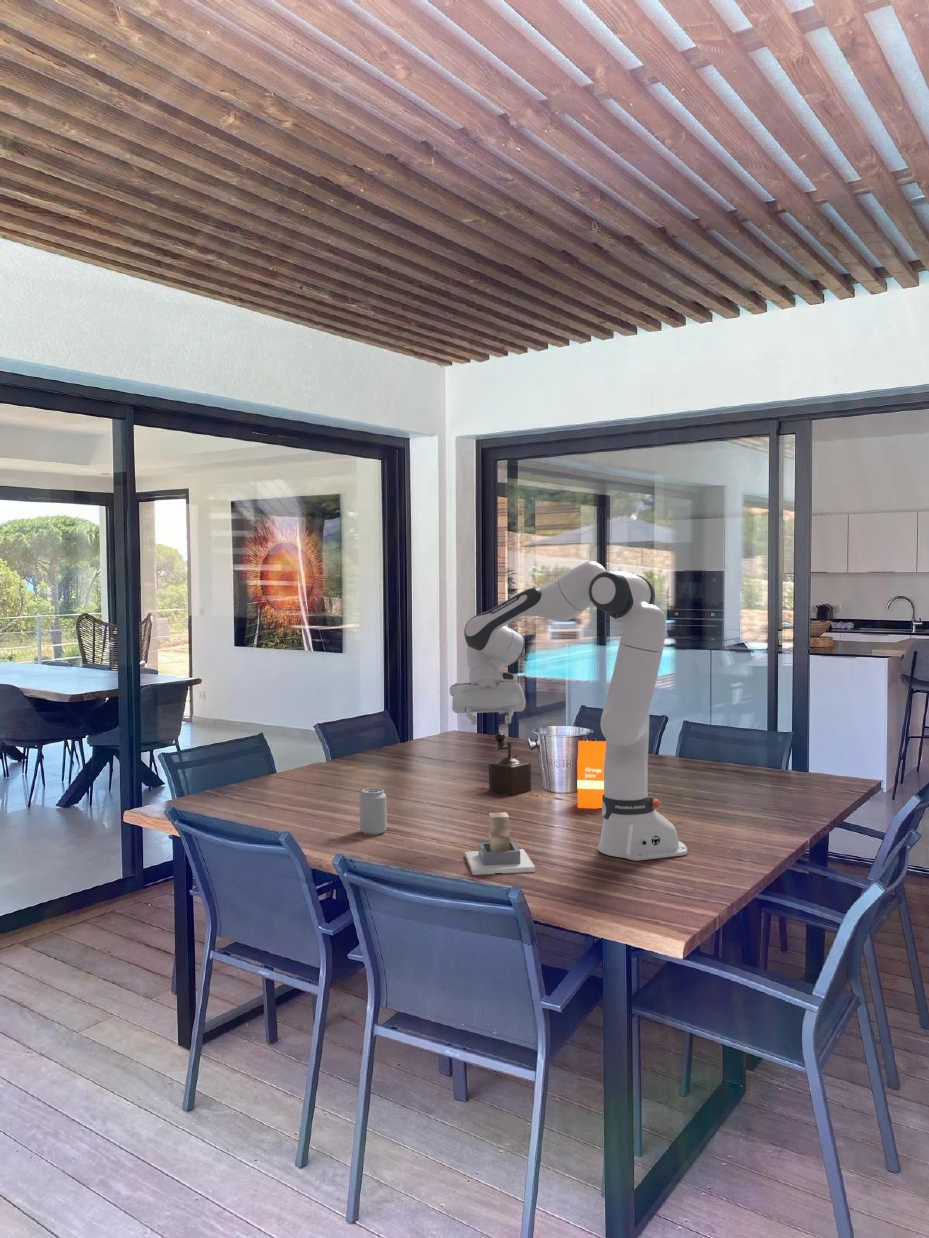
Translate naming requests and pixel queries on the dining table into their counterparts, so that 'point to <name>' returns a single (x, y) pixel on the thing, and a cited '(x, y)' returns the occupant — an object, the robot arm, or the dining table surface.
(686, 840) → the dining table surface
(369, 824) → the can
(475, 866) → the dock
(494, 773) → the manual coffee grinder
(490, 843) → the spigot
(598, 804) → the orange juice
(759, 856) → the dining table surface
